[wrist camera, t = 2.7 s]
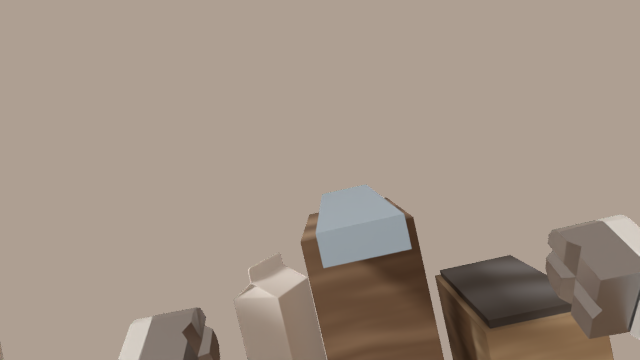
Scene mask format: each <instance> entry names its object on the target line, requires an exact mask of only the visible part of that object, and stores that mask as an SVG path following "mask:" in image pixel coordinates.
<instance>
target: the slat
mask: <svg viewBox="0 0 640 360" xmlns="http://www.w3.org/2000/svg"><path fill="white" fill-rule="evenodd" d="M316 238H317V242H318V246H319V251H320V255H321V259H322V264H323V268H327V267H331V266H336V265H341V264H345V263H350V262H354V261H359V260H363V259H368V258H373V257H377V256H382V255H386V254H391V253H396V252H400V251H405V250H409V249H412V247H411V243H410V238H409V234H408V229H407V224H406V220H405V215H404V213H402V212H401V211H400V210H399V209H397V208H396V207H395V206H393V205H392V204H391V203H390V202H388V201H387V200H386V199H384V198H383V197H382V196H380V195H379V194H378V193H377V192H375V191H374V190H372V189H371V188H370V187H369V186H367V185H361V186H357V187H352V188H348V189H343V190H339V191H335V192H330V193H326V194H322V199H321V205H320V211H319V216H318V222H317V228H316Z"/></svg>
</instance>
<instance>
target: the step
mask: <svg viewBox="0 0 640 360" xmlns="http://www.w3.org/2000/svg"><path fill="white" fill-rule="evenodd" d="M440 273H441V275H437V276H435V278H436V283H437V287H438V292H439V297H440V301H441V306H442V310H443V315H444V320H445V324H446V329H447V333H448V338H449V342H450V348H451V352H452V356H453V360H614V359H613V354H612V348H611V343H610V338H609V336H604V337H598V338H593V339H588V337H587V336H586V335H585V333H584V332H583V330H582V329H581V328H580V326H579V325H578V324H577V322H576V321H575V319H574V318H573V317H572V315H571V307H572V304H570V303H568V302H566V301H564V300H562V299H560V298H559V297H558V296H557V294H556V293H555V291H554V290H553V288H552V286H551V284H550V282H549V280H548V276H547V275H546V274H544V273H542V272H540V271H538V270H536V269H535V268H533V267H531V266H529V265H527V264H525V263H524V262H522V261H520V260H518V259H516V258H514V257H513V256H511V255H509V256H504V257H499V258H495V259H491V260H485V261H481V262H476V263H472V264H467V265H462V266H458V267H453V268H448V269H444V270H440Z"/></svg>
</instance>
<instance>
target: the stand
mask: <svg viewBox="0 0 640 360" xmlns="http://www.w3.org/2000/svg"><path fill="white" fill-rule="evenodd" d="M384 199H386V200H387V201H388V202H390V203H391V204H392V205H393V206H395V207H396V208H397V209H399V210H400V211H401V212H402V213H404V215H405V220H406V224H407V229H408V234H409V238H410V243H411V247H412V249H409V250H405V251H400V252H396V253H391V254H386V255H382V256H377V257H373V258H368V259H363V260H359V261H354V262H350V263H345V264H341V265H336V266H331V267H327V268H323V264H322V259H321V255H320V251H319V246H318V242H317V238H316V228H317V222H318V216H319V213H315V214H310V215H309V218H308V221H307V224H306V227H305V230H304V233H303V237H302V239H301V246H302V250H303V254H304V259H305V263H306V267H307V271H308V276H309V281H310V285H311V289H312V293H313V298H314V302H315V307H316V311H317V315H318V319H319V324H320V328H321V333H322V337H323V341H324V346H325V350H326V354H327V359H328V360H444V357H443V353H442V348H441V344H440V339H439V334H438V330H437V325H436V320H435V316H434V311H433V307H432V302H431V298H430V293H429V288H428V284H427V279H426V274H425V270H424V265H423V261H422V256H421V251H420V246H419V242H418V237H417V233H416V228H415V224H414V219H413V217H412V216H411V215H410V214H408V213H407V212H405V211H404V210H403V209H401V208H400V207H398V206H397V205H396V204H394V203H393V202H392V201H390V200H389V199H388V198H384Z"/></svg>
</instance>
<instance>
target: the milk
mask: <svg viewBox="0 0 640 360" xmlns="http://www.w3.org/2000/svg"><path fill="white" fill-rule="evenodd" d="M248 274H249V278H250V284H249V285H248V286H247V287H246V288H245V289H244V290H243V291H242V292H241V293H240V294H239V295H238V296H237V297H236V298H235V299H234V304H235V309H236V313H237V317H238V321H239V325H240V329H241V333H242V337H243V342H244V346H245V350H246V354H247V359H248V360H326V356H325V352H324V348H323V343H322V339H321V334H320V330H319V325H318V321H317V317H316V313H315V308H314V304H313V299H312V295H311V291H310V287H309V282H308V278H307V277H306V276H304V275H302V274H300V273H298V272H296V271H294V270H293V269H291V268H289V267H287V266H285V265H283V262H282V258H281V254H280V253H276V254H275V255H273V256H271V257H269V258H267V259H265V260H263V261H261V262H259V263H258V264H256V265H254V266H252V267H250V268H249V269H248Z"/></svg>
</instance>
